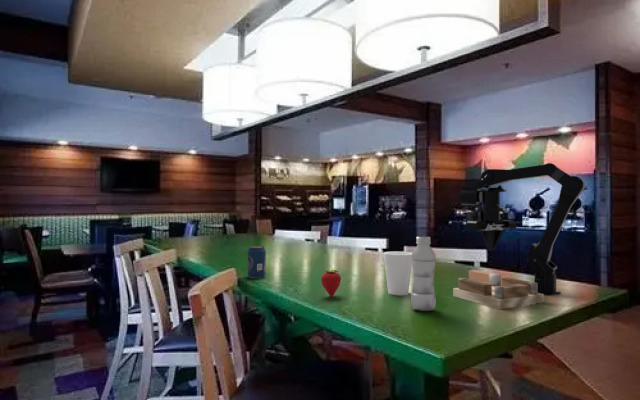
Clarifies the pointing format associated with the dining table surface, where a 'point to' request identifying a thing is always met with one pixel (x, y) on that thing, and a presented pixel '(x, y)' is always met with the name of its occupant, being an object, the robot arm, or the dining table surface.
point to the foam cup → (398, 272)
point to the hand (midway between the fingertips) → (491, 249)
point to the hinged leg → (485, 277)
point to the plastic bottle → (423, 275)
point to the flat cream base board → (499, 293)
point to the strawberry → (331, 281)
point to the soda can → (256, 262)
